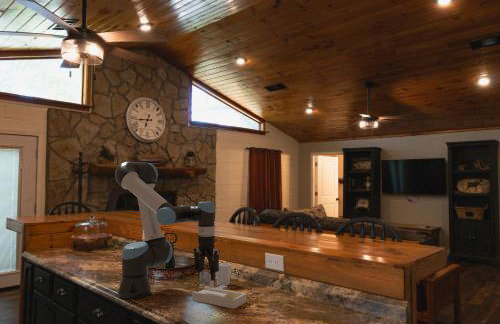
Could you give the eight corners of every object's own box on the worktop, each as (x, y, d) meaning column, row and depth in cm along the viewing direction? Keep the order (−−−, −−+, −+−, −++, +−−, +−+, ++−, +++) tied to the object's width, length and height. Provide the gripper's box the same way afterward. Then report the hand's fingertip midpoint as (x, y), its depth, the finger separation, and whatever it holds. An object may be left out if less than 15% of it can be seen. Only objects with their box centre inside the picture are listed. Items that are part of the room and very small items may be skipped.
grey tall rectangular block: (211, 293, 178) (211, 289, 179) (221, 289, 185) (221, 285, 185) (217, 294, 177) (218, 290, 177) (227, 290, 184) (227, 286, 184)
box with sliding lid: (192, 299, 169) (192, 291, 169) (205, 293, 178) (205, 286, 178) (234, 308, 158) (234, 300, 158) (246, 302, 167) (246, 293, 167)
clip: (199, 283, 171) (199, 273, 171) (205, 281, 175) (205, 271, 175) (207, 284, 169) (207, 274, 169) (213, 282, 172) (213, 272, 173)
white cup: (213, 285, 192) (213, 265, 192) (219, 281, 199) (219, 262, 200) (227, 286, 189) (227, 266, 190) (233, 282, 197) (233, 263, 197)
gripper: (186, 235, 174) (186, 286, 173) (217, 237, 165) (217, 291, 164) (196, 233, 180) (196, 282, 179) (226, 235, 171) (227, 287, 170)
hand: (206, 286), depth 172 cm, fingers closed on clip, 4 cm apart
